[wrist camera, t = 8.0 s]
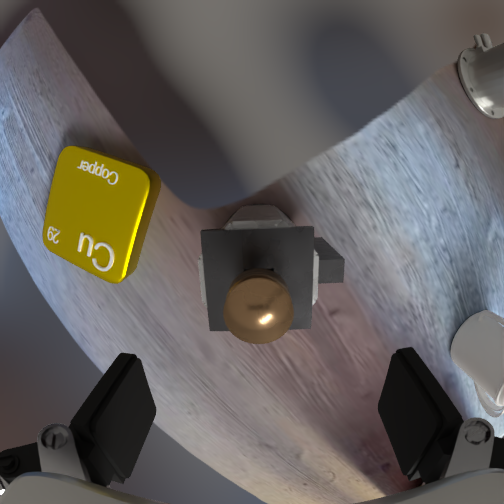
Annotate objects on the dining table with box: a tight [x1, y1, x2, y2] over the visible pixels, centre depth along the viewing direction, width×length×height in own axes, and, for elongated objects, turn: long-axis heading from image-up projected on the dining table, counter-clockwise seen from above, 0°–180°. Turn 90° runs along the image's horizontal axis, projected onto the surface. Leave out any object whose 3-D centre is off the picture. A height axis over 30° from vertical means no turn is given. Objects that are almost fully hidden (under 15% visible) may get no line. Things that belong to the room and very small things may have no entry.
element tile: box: [42, 146, 161, 284], centre depth 33 cm, size 15×15×5 cm
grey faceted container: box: [198, 204, 345, 331], centre depth 28 cm, size 9×12×15 cm
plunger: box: [223, 268, 294, 344], centre depth 23 cm, size 7×7×14 cm
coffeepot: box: [451, 310, 504, 417], centre depth 29 cm, size 11×25×19 cm, turn 19°
